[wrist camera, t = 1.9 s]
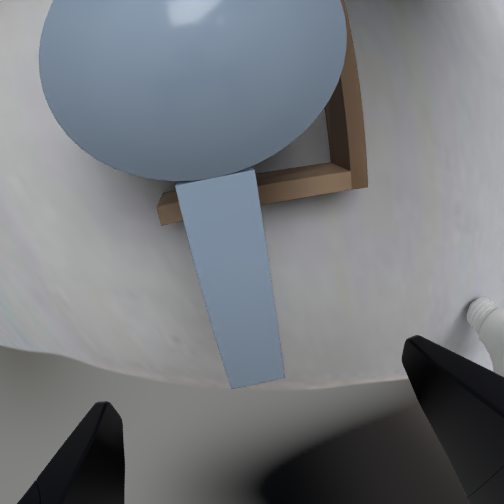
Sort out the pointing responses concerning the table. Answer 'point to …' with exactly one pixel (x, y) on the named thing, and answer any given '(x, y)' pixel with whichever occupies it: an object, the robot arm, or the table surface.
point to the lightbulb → (489, 329)
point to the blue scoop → (200, 126)
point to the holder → (322, 175)
